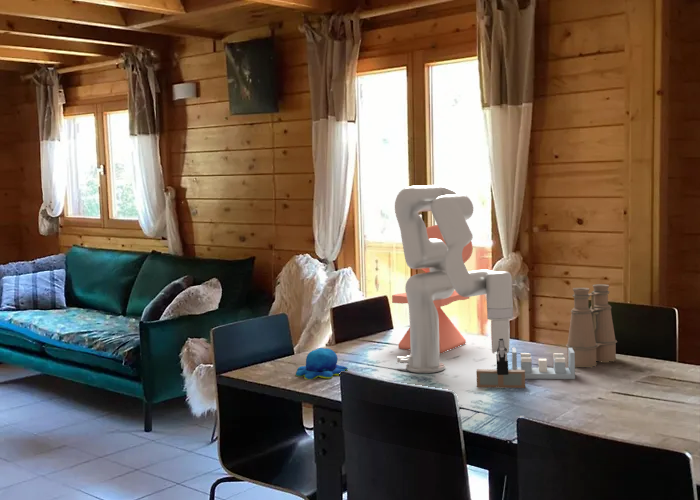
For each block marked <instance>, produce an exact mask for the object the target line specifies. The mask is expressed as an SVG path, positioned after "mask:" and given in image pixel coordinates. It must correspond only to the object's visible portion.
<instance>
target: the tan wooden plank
mask: <svg viewBox="0 0 700 500" xmlns="http://www.w3.org/2000/svg"><path fill="white" fill-rule="evenodd" d="M475 373H476V388H499V389H500V388H502V389H503V388H504V389H505V388H506V389H508V388H509V389H525V388H526V379H525V370H512V369H508V375H498V374H497V369H488V368H487V369H485V368H482V369H479V368H477V369H476V372H475Z"/></svg>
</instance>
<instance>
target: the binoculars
mask: <svg viewBox="0 0 700 500" xmlns="http://www.w3.org/2000/svg"><path fill="white" fill-rule="evenodd" d="M609 287H610V285H609V284H605V283H604V284H603V283H598V284H597V283H596V284H592V288H593V291H591V292H590V288H589V287H573V288H572V291H573V294H572V297H573V298H574V299H573V303H574V304H573V305H574V306H573V308H572V309H571V310H570V313H571V314H570V321H569V329H568V335H567V336H568V338H567V343H566V344H565V347H566V348H567V351H566V352H567V353H566V354H567V358H568V348H572V349H573V351H574V353H575V368H577V367H591V368H593V367H592V366H595V367H597V366H598V365H597V364H598V362H596V361H600V362H599V363H610V362H609V361H613V362H615V361H617V356H616V353H617V352H616V347H617V346H616V343H618V341H617V339H616V335H615V329H614V323H613V316H612V306H611V304H609V294H610V291H609ZM589 292H590V293H589ZM590 297H591V298H590ZM589 298H590V299H591V303H590V304H591V306H590V307H589ZM614 360H615V361H614ZM601 361H602V362H601ZM566 364H568V361H567V362H566ZM596 365H597V366H596Z"/></svg>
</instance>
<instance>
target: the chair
mask: <svg viewBox="0 0 700 500" xmlns="http://www.w3.org/2000/svg"><path fill="white" fill-rule="evenodd" d="M426 230H427V235H428V239H439V240H442V241H443V242H444V243H445V241H444V238H443V236H442V234H441V232H440V230H439V227H438V225H437V224H435V225H430V226H427V227H426ZM445 244H446V243H445ZM473 247H474V246H473V243H472V241H471V242H470V243H468V244H467V245H466V246H465V247H464V248H463V251H462V259H463V262H464V264H465V263H466V262H467V261H468V260H470V258H471V256H472V254H473ZM421 270H422V271H423V272H424V273H426V272H430V269H429V268H425V269H421ZM468 299H470V297H463V296H460V295H459V294H458V293H457V292H456V291H455V290H454V292H453V294H452V295H451V296H450V297H448V298H446V299H441V300H435V301H433V303H434V305H435V307H436V309H437V311H438V316H439V348H440V354H441V353H442V354H444V353H446V352H445V351H447V350H449V351H451V350H450V349H452V350H454V349H456V348H455V347H457V348H459V347H458V346H460V345H462V346H464V345H463V344H465V343H467V341H466V339H465V337H464V335H462V334H461V332H460V331H459V330H458V328H457V327H456V326H455V324H454V323H453V322H452V321H451V320H450V318H449V317H448V315H446V313H445V312H444V310H443V309H442V308H441V307H445V306H447V305H450V304H451V303H453V302H458V301H465V300H468ZM391 302H392V304H402V305H403V304H408V300H407V295H406V292H404V293H396V294H392V296H391ZM397 345H398V349H399V350H407V349H410V350H409V351H411V348H410V327H409V328H408V329H407V331H406V332H405V334H404V336H403V337H402V338H401V340H400V341H399V342H398V344H397ZM465 345H466V344H465ZM460 347H461V346H460ZM453 348H454V349H453ZM443 352H444V353H443ZM447 352H448V351H447Z"/></svg>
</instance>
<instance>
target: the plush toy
mask: <svg viewBox="0 0 700 500" xmlns="http://www.w3.org/2000/svg"><path fill="white" fill-rule="evenodd" d="M305 358H306V359H305V365H303V366H299V367H297V370H296V373H295V376H296V377H298V378H299V377H301V378H302V377H304V378H303V379H304V380H315V379H317V378H321V379H333V377H334V376H338V377H340V376H339V373H340V372H341V371H345V370H346V372H347V371H348V370H349V369H348V367H347V366H343V365H340V364H337V363H338V355H337V354H336V352H335V351H334V350H332V349H331V348H327V347H326V348H323V347H319V348H317V349H315V350H312V351H309V353H307V355H306V357H305Z"/></svg>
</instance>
